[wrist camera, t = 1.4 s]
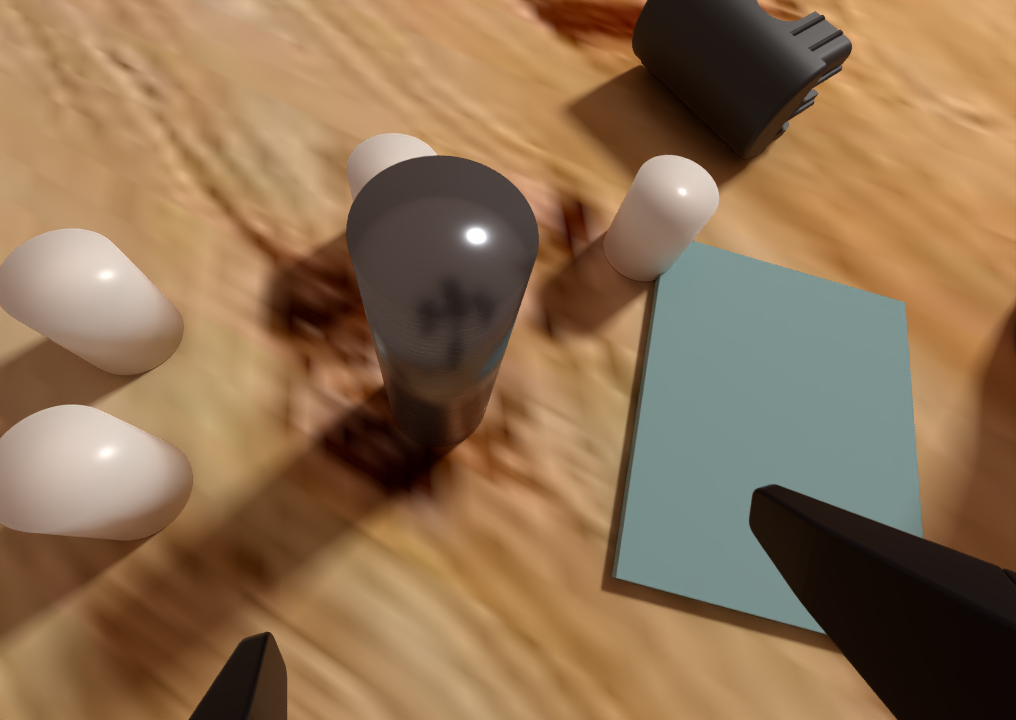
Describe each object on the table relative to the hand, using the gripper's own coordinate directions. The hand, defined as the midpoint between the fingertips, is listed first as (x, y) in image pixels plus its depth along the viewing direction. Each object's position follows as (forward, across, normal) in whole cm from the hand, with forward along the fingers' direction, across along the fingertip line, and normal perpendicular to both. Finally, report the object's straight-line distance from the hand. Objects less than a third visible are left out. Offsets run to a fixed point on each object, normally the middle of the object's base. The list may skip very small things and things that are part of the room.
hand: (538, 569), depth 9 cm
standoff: (+15, 0, +4) cm, 15 cm away
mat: (+11, -16, +8) cm, 21 cm away
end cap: (+26, -21, -7) cm, 34 cm away
